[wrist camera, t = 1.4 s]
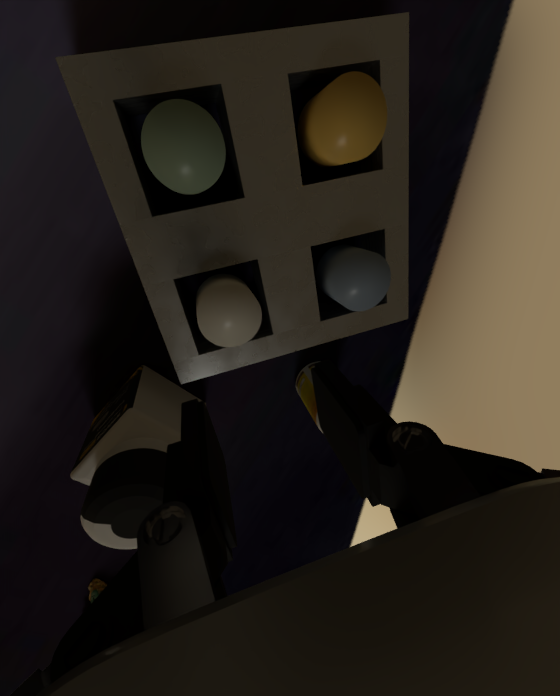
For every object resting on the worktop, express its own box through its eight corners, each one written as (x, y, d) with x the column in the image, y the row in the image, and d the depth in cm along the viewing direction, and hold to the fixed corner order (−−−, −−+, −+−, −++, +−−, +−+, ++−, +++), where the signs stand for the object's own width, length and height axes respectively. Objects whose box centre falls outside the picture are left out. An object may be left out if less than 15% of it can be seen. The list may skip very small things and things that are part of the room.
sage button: (138, 122, 20) (127, 105, 16) (209, 111, 20) (213, 92, 17) (162, 200, 22) (157, 200, 18) (226, 187, 22) (234, 185, 19)
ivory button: (188, 281, 24) (188, 295, 21) (244, 267, 25) (254, 278, 21) (204, 333, 26) (207, 354, 23) (256, 319, 27) (267, 337, 23)
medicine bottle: (142, 362, 28) (115, 460, 17) (207, 402, 31) (218, 505, 21) (92, 418, 29) (38, 544, 18) (160, 452, 32) (148, 575, 22)
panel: (78, 82, 20) (55, 57, 16) (374, 41, 23) (408, 12, 19) (181, 361, 29) (181, 384, 25) (383, 305, 32) (408, 318, 28)
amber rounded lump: (292, 97, 21) (313, 77, 18) (354, 87, 22) (386, 65, 18) (302, 172, 23) (323, 167, 20) (358, 161, 24) (388, 154, 20)
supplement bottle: (307, 405, 35) (341, 461, 27) (286, 377, 32) (315, 429, 25) (343, 381, 34) (386, 430, 27) (323, 350, 32) (364, 395, 25)
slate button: (312, 251, 26) (332, 259, 22) (363, 239, 26) (390, 245, 23) (319, 302, 28) (338, 317, 24) (366, 290, 28) (391, 303, 25)
